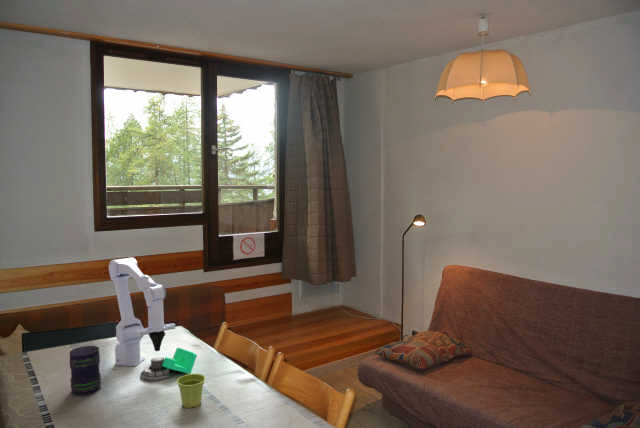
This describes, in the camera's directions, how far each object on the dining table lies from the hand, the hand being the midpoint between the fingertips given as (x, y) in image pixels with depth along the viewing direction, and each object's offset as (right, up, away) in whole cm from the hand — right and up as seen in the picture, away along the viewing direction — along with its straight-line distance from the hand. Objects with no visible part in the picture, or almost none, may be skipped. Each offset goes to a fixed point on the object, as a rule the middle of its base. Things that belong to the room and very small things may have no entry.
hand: (157, 350), depth 186 cm
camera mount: (+10, -6, +6) cm, 13 cm away
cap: (0, -9, 0) cm, 9 cm away
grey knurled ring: (0, -10, +1) cm, 10 cm away
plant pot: (+20, -11, -25) cm, 34 cm away
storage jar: (-22, -11, -13) cm, 27 cm away
